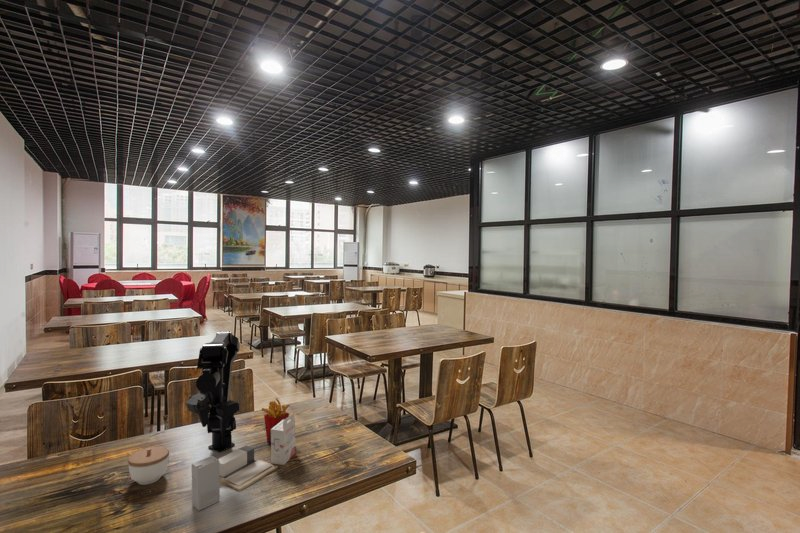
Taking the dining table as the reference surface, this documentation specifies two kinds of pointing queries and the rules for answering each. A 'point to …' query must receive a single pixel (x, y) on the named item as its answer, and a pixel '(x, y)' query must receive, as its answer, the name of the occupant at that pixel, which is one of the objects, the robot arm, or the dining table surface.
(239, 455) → the tall cream pillar
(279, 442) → the ink cartridge box
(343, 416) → the dining table surface
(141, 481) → the lidded jar
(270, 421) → the french fries
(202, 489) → the skincare box
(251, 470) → the picture frame
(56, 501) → the dining table surface
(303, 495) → the dining table surface
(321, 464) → the dining table surface
